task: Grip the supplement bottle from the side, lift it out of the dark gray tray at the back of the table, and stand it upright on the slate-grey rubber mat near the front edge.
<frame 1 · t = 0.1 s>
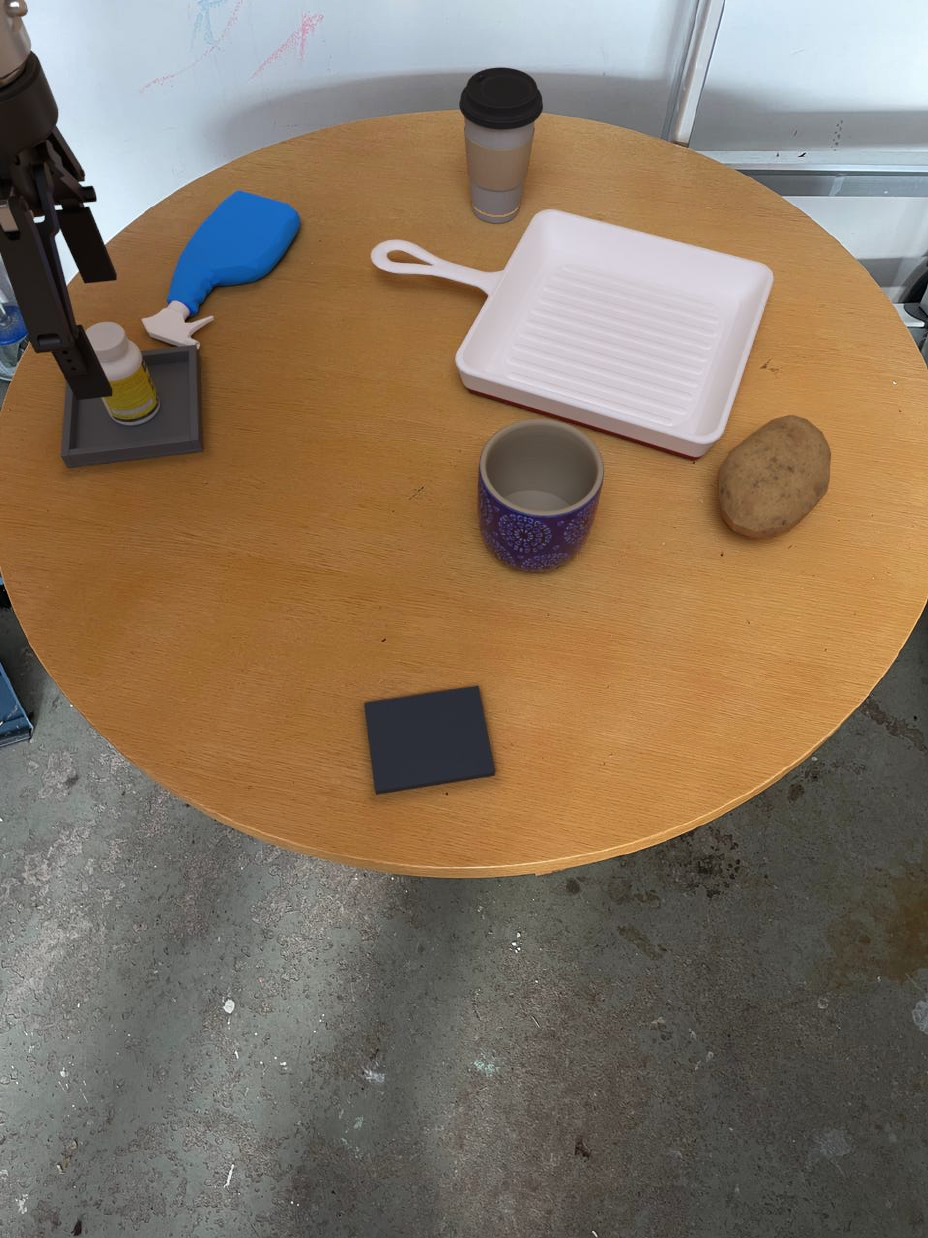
hand: (98, 334, 71), 19 cm above the table, tool pointing down, fingers open, 13 cm apart
pan: (549, 330, 99), on the table
slate mat: (428, 740, 74), on the table
dark gray tray: (136, 410, 92), on the table
planter: (531, 540, 84), on the table
potato: (756, 509, 86), on the table
spray bottle: (222, 279, 102), on the table
coffee cup: (496, 210, 109), on the table
supplement bottle: (136, 409, 92), resting on dark gray tray
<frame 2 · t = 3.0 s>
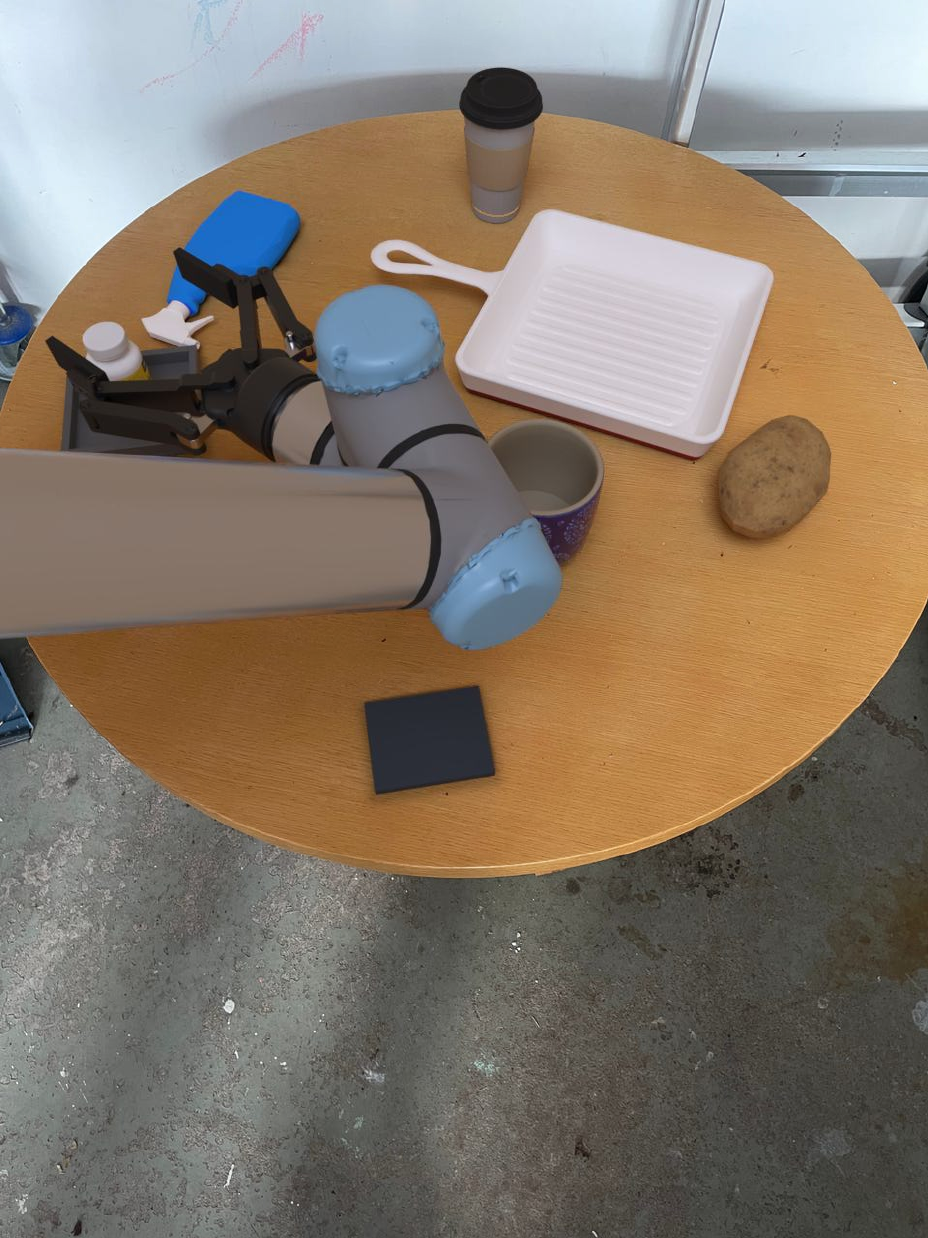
hand: (120, 304, 73), 19 cm above the table, tool horizontal, fingers open, 13 cm apart
nothing on the table moved.
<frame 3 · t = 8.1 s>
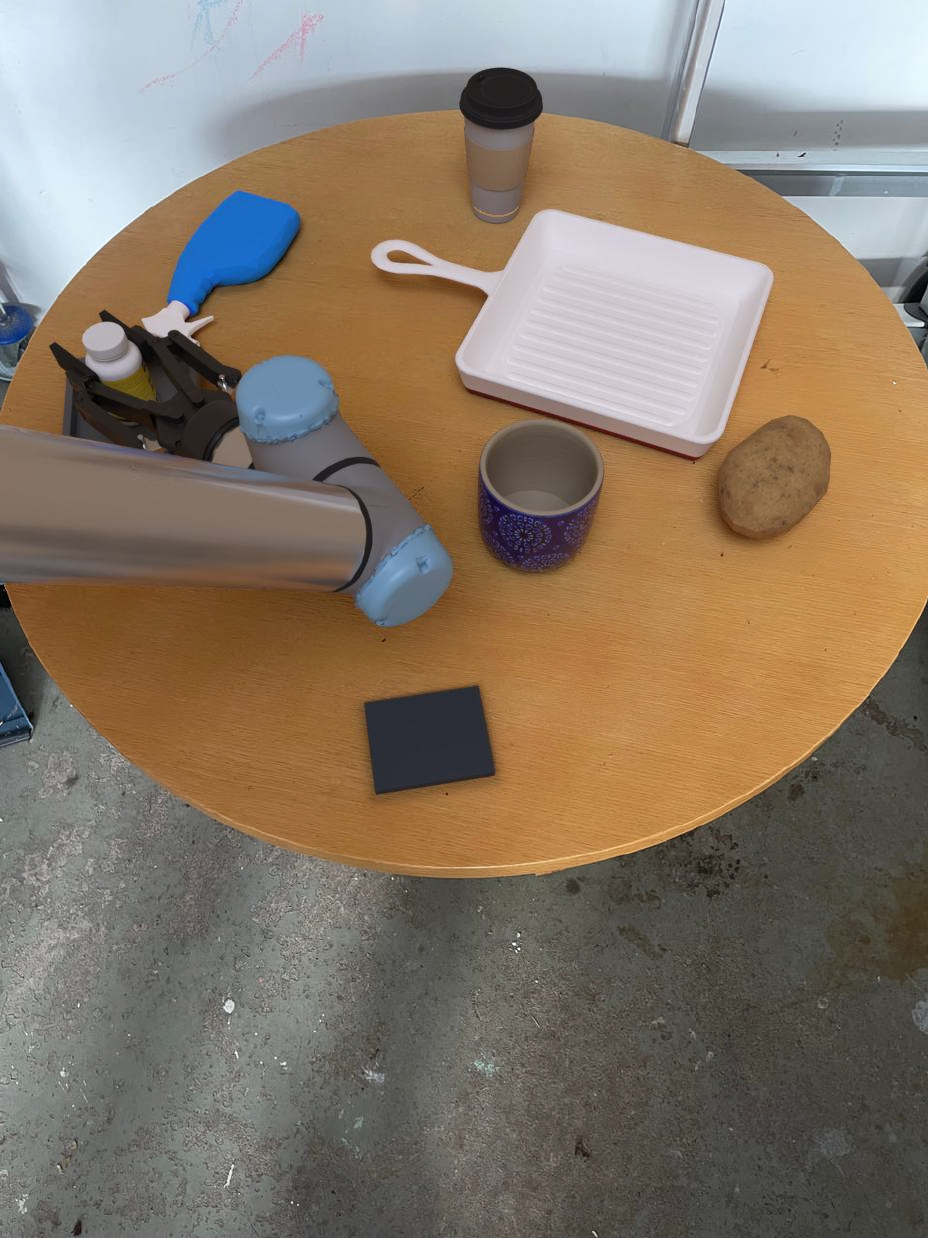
hand: (82, 337, 88), 7 cm above the table, tool horizontal, fingers closed on supplement bottle, 5 cm apart
supplement bottle: (136, 409, 92), resting on dark gray tray, touching gripper
everything else where it was.
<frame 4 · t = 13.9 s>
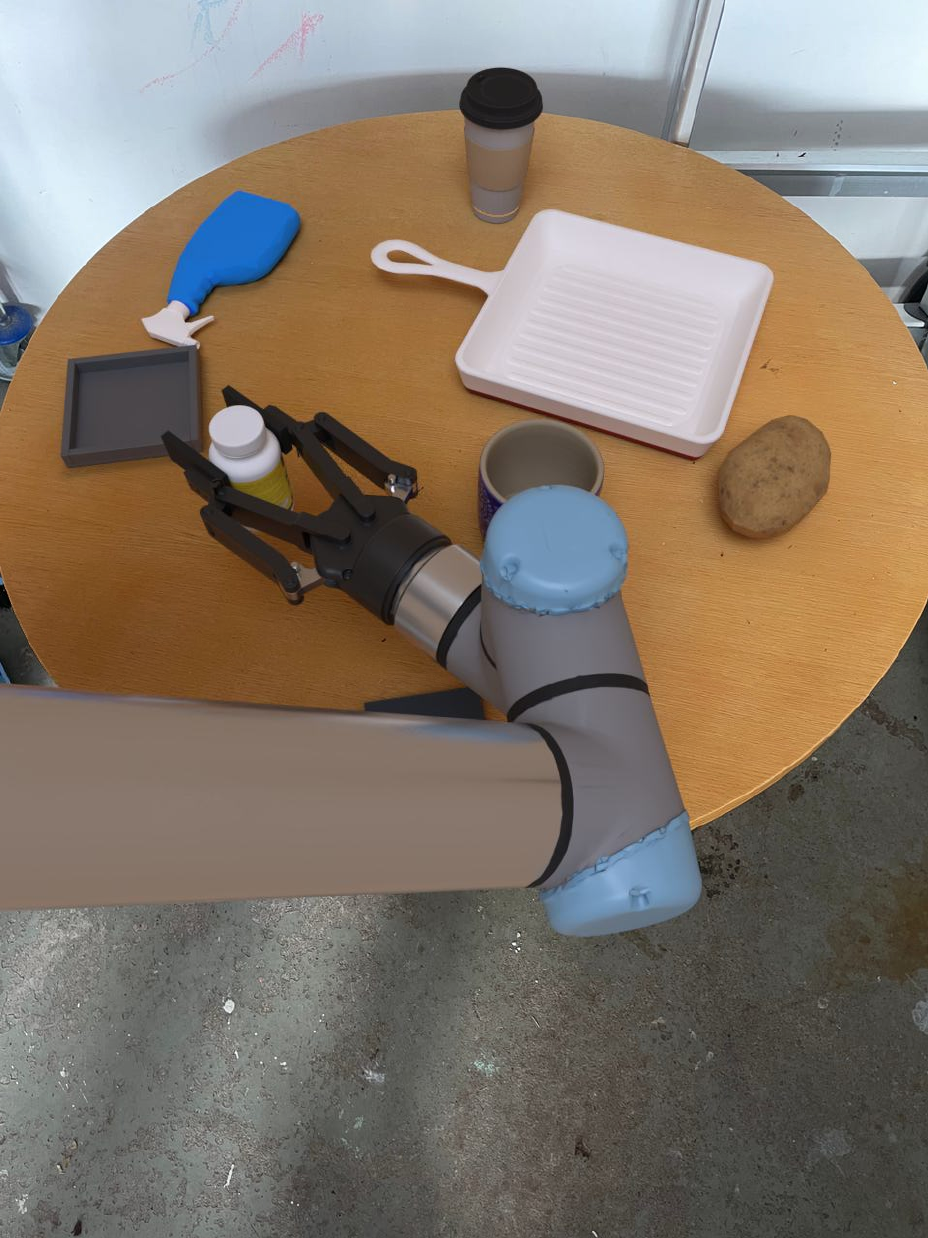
hand: (200, 422, 67), 18 cm above the table, tool horizontal, fingers closed on supplement bottle, 5 cm apart
supplement bottle: (262, 508, 72), point 11 cm above the table, touching gripper
everything else where it was.
when the fingers open (7 cm above the table, at t = 19.8 s): supplement bottle stays where it is, resting on slate mat.
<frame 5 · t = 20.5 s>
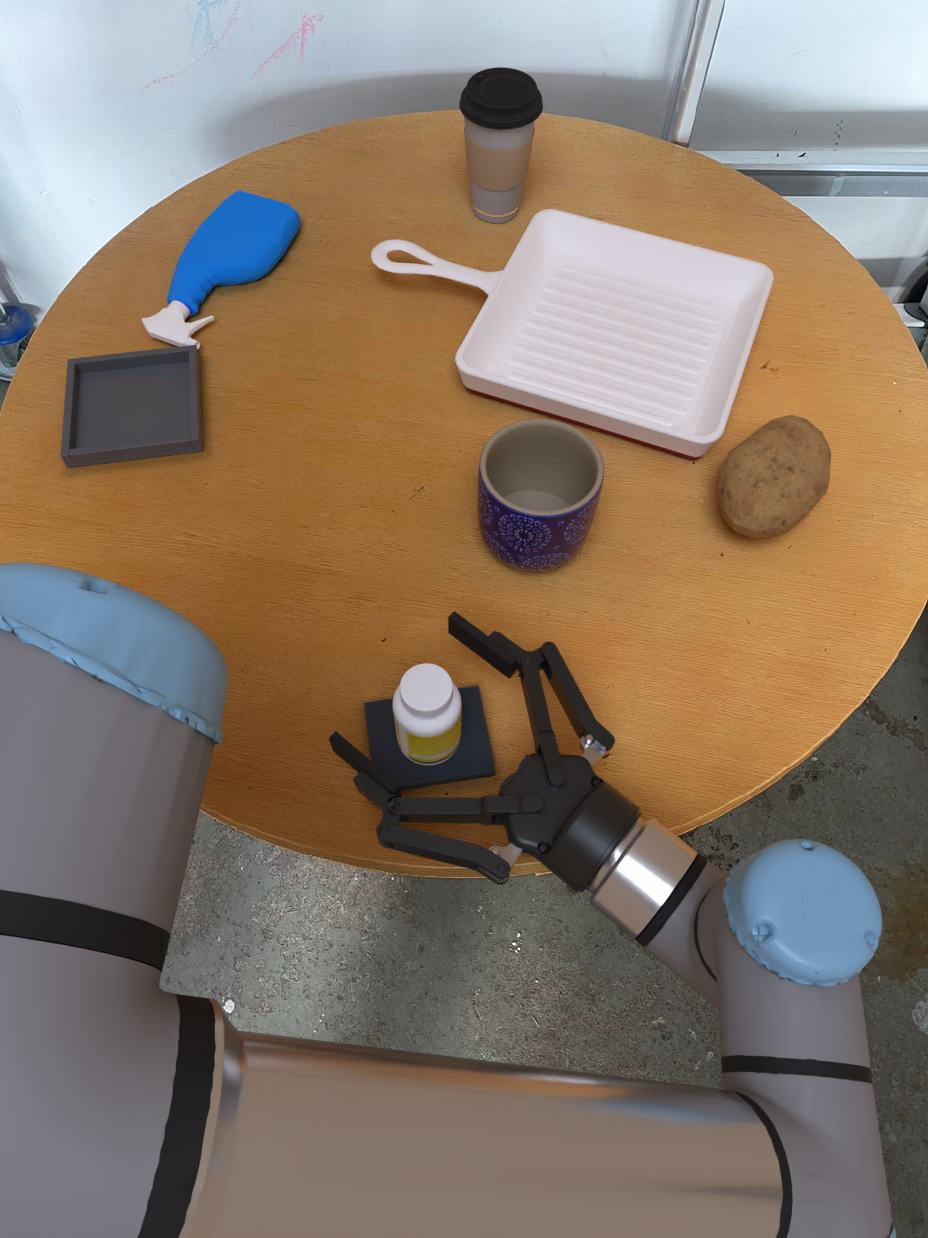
hand: (394, 678, 68), 8 cm above the table, tool horizontal, fingers open, 13 cm apart
supplement bottle: (429, 737, 73), point 1 cm above the table, touching slate mat
everything else where it was.
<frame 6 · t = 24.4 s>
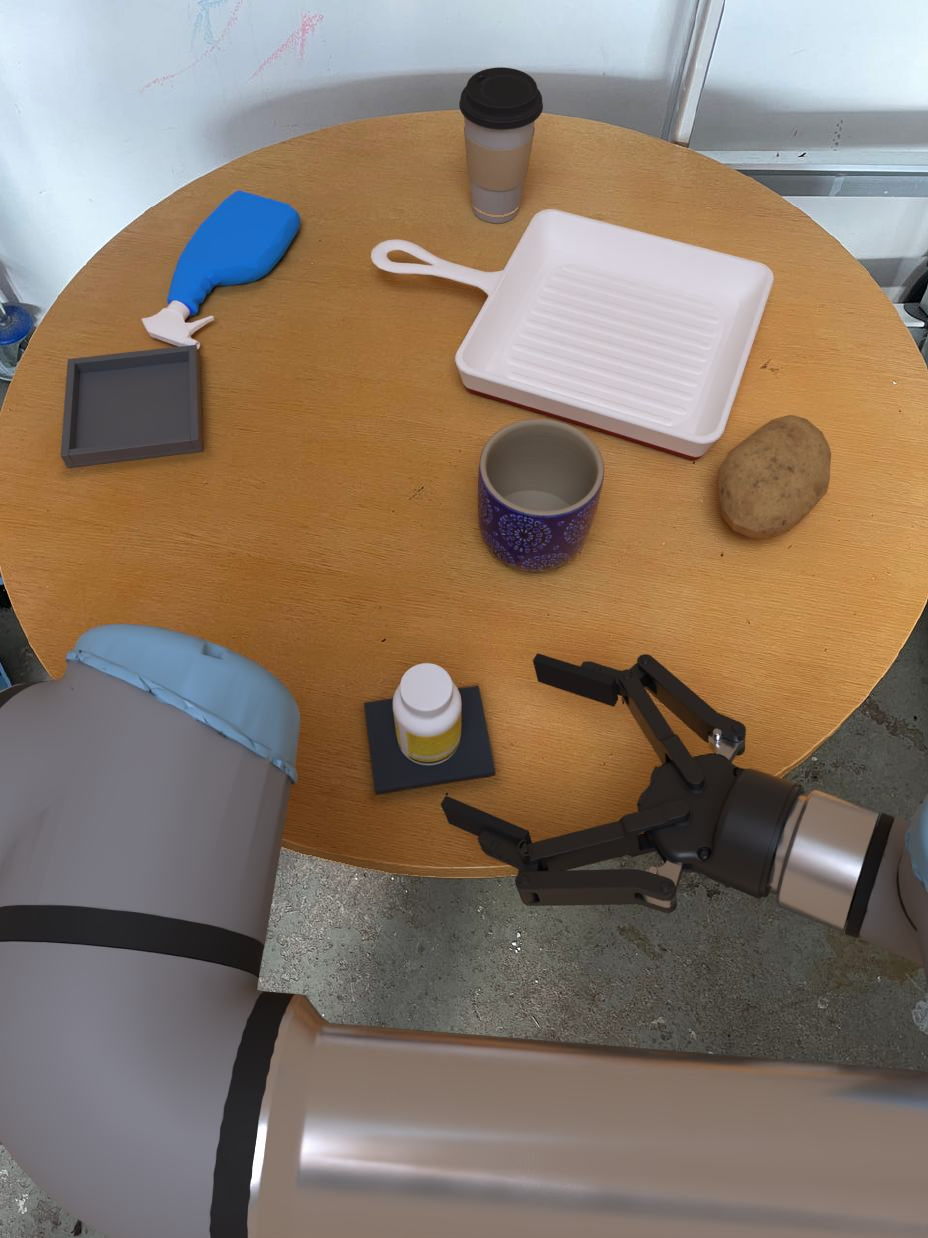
hand: (494, 734, 64), 10 cm above the table, tool tilted 70°, fingers open, 13 cm apart
nothing on the table moved.
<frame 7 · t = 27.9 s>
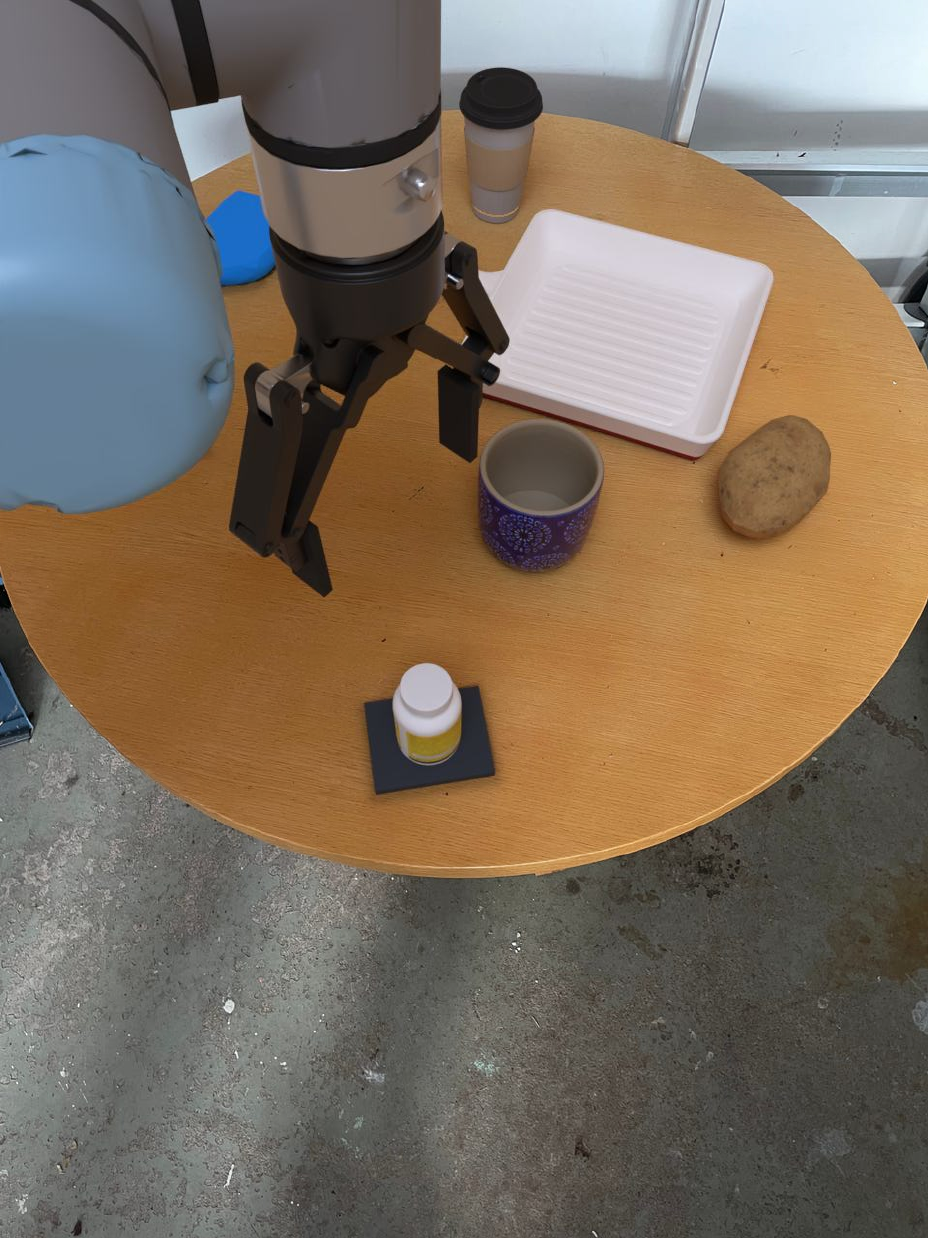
hand: (388, 512, 55), 25 cm above the table, tool pointing down, fingers open, 13 cm apart
nothing on the table moved.
at the end: supplement bottle inside the target area on the slate mat (0.1 cm from its centre), point 0.8 cm above the slate mat's base; supplement bottle tilted 0°; supplement bottle touching slate mat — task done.
